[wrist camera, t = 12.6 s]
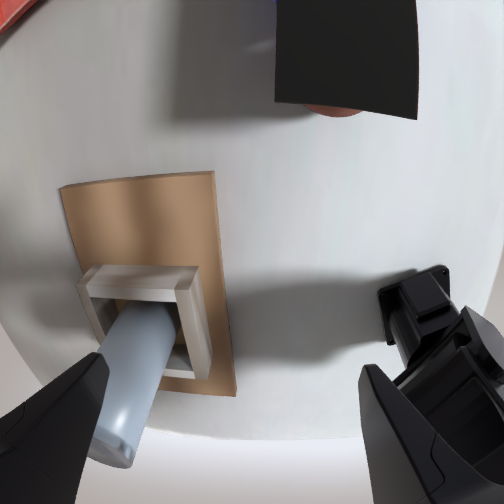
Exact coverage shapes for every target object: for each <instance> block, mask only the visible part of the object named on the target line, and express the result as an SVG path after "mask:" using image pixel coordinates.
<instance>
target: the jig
mask: <svg viewBox="0 0 504 504" xmlns="http://www.w3.org/2000/svg"><path fill="white" fill-rule="evenodd" d="M60 191H61V196H62V200H63V205H64V209H65V213H66V217H67V221H68V225H69V229H70V233H71V236H72V240H73V243H74V247H75V250H76V254H77V257H78V260H79V263H80V266H81V270H82V273H83V277H82V278H81V279H80V280H79V281H78V282H77V284H76V288H77V290H78V293H79V296H80V298H81V301H82V304H83V306H84V309H85V311H86V314H87V316H88V319H89V321H90V323H91V326H92V328H93V330H94V333H95V335H96V337H97V339H98V342H99V344H100V345H101V343H102V342H103V340H104V338H105V337H106V335H107V333H108V332H109V330H110V328H111V327H112V325H113V324H114V322H115V320H116V319H117V317H118V315H119V314H120V312H121V311H122V309H123V307H124V306H125V304H126V303H127V301H128V300H143V301H162V302H176V303H177V306H178V311H179V315H180V320H181V326H180V329H179V331H178V334H177V337H176V339H175V342H174V345H173V348H172V350H171V353H170V356H169V358H168V361H167V364H166V367H165V369H164V372H163V375H162V378H161V381H160V383H159V386H158V389H159V390H166V391H174V392H183V393H193V394H203V395H216V396H232V397H236V391H237V387H236V379H235V372H234V364H233V355H232V347H231V339H230V330H229V321H228V312H227V303H226V294H225V285H224V275H223V265H222V255H221V244H220V233H219V222H218V211H217V199H216V187H215V174H214V171H202V172H185V173H171V174H158V175H147V176H136V177H127V178H117V179H109V180H101V181H93V182H85V183H78V184H71V185H66V186H65V187H63V188H61V189H60Z"/></svg>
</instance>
